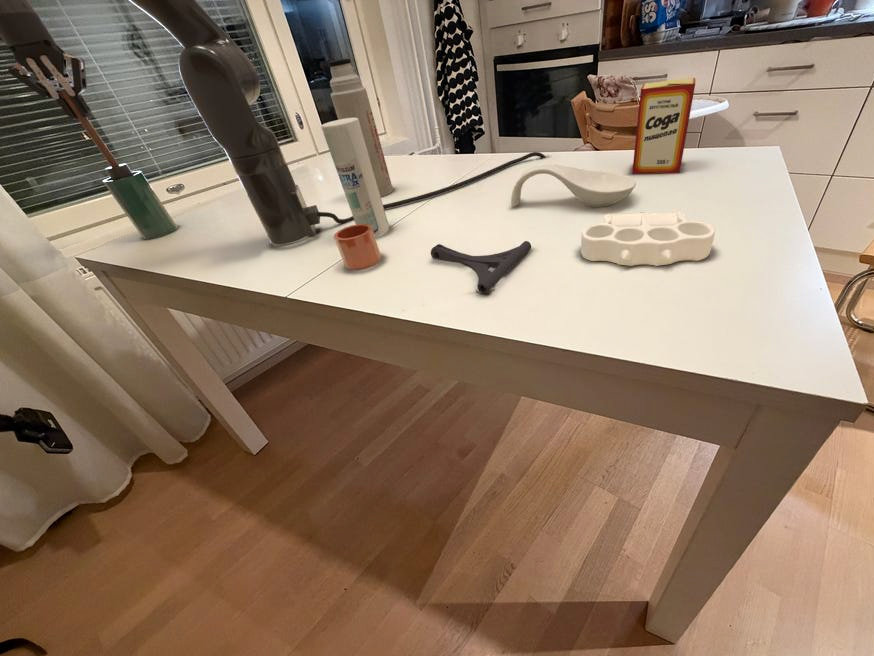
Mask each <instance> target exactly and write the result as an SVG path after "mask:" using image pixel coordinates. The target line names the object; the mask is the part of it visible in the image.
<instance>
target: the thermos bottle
mask: <svg viewBox="0 0 874 656" xmlns="http://www.w3.org/2000/svg"><path fill="white" fill-rule="evenodd" d="M327 66H328V68H330V74H331V79H330V81H329V84H330V85H329V87H330V88H331V90H332V92H331V93H330V98H331V101H332V104H333V107H334V111H335V113H336V117H337V120H340V119H346V118H358V120H359V123H360V126H361V130H362V133H363V137H364V140H365V144H366V147H367V151H368V154H369V158H370V162H371V165H372V169H373V172H374V176H375V179H376V183H377V186H378V190H379V193H380V197H381V198H382V197H384V196H388V195H390V194H391V193H392V192H393V191H394V189H393V184H392V181H391V177H390V173H389V171H388V166H387V162H386V158H385V154H384V151H383V147H382V142H381V140H380V136H379V133H378V129H377V125H376V121H375V118H374V114H373V110H372V106H371V102H370V98H369V96H368V91H367V88H366V87H364V86H363V85H362V80H361V78H360V76H359V75H358V74H356V73H355V71H354V67H353V66H352V61H351V58H340V59H339V58H338V59H335V60H331V61H328V62H327Z"/></svg>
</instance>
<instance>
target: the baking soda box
mask: <svg viewBox="0 0 874 656" xmlns="http://www.w3.org/2000/svg"><path fill="white" fill-rule="evenodd" d="M695 87H696V77H691V78H689V77H688V78H678V79H668V80H665V81H654V82H645V83H643V84H642V86H641V88H640V94H639V103H638V112H637V113H638V114H637V122H636V123H637V124H636V131H635V140H634V141H635V142H634V150H633V161H632V170H631V175H645V174H646V175H647V174H649V175H651V174H680V172H681V168H682V162H683V156H684V152H685V151H684V150H685V145H686V138H687V133H688V128H689V122H690V116H691V112H692V105H693V99H694V94H695V89H696V88H695Z"/></svg>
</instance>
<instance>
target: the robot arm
mask: <svg viewBox="0 0 874 656" xmlns="http://www.w3.org/2000/svg"><path fill="white" fill-rule="evenodd" d="M128 1H129V2H130V3H132V4H133V5H135V6H136V7H137V8H138V9H140V10H141V11H143V12H144V13H146V14H147V15H148V16H149V17H151V18H152V19H153V20H154V21H156V22H157V23H159V24H160V25H161V26H162V27H164V29H165V30H166V31H167V32H168V33H169V34H170V35H171V36H172V37H173V38H174V39H175V40H176V41H177V42H178V43H179V44H180V46H181V47H182V48H183V49H182V50H181V52H180V54H179V57H178V69H179V74H180V79H181V80H182V83H183V85H184V87H185V90H186V92H187V93H188V96H189V97H190V99H191V101H192V103H193V105H194V107H195V108H196V110H197V112H198V114H199V116H200V118H201V119H202V121H203V123H204V125H205V126H206V128H207V130H208V132H209V133H210V135H211V137H212V138H213V139H214V140H215V142H216V143H217V144H218V145H219V146H220V147H221V148H222V149H223V151H224V152H225V155H226V156H227V157H228V160H229V162H230V163H231V166H232V168H233V169H234V172H235V174H236V176H237V178H238V179H239V182H240V184H241V185H242V188H243V189H244V191H245V193H246V196H247V197H248V200H249V202H250V204H251V205H252V207H253V209H254V212H255V213H256V216H257V217H258V219H259V222H260V224H261V225H262V227H263V229H264V231H265V233H266V235H267V237H268V239H269V242H270V244H271V246H273V247H287V246H292V245H296V244H299V243H301V242H304V241H306V240H308V239H311V238H314V237H315V236H316V234H317V226H316V225H319V224H321V218H323V217H324V218H331V219H333V221H334V222H335V223H337V224H340V225H341V224H346V223H350V222H352V221H354V218H353V215H352V216H350V217H347V218H339V217H338V216H337V215H336V214H335V213H332V212H328V211H320V210H319V208H318V206H317V205H316V204H314V205H311V206H307V203H306V200H305V198H304V196H303V194H302V191H301V189H300V187H299V185H298V184H297V183H296V182H295V180H294V177H293V175H292V172H291V171H290V167H289V166H288V164H287V161H286V158H285V156H284V153H283V152H282V151H283V150H282V149H281V147H280V144H279V142H278V140H277V139H278V138H277V137H276V135H275V133H274V131H273V130H272V129H270V128H269V127H266V126H264V125H262V123H260V122H259V120H258V119H257V118H256V115H255V113H254V111H253V110H252V108H251V106H250V105H252V104H253V103H255V102H256V101H257V100H258V99H259V96H260V94H261V82H260V78H259V74H258V73H257V70H256V68H255V66H254V64H253V63H252V62H251V60H250V58H249V57H248V55H246V53H245V52H244V51H243V50H242V49H241V47H240V46H238V44H237V43H236V42H235V41H234V40H233V39H232V38H231V37H230V36H229V35H228V34H227V32H225V31H224V29H222V27H221V26H220V25H219V24H218V23H217V22H216V21H215V19H213V18H212V17H211V16H210V15H209V14H208V12H207V11H206V10H205V9H204V8H203V7H202V5H200V4H199V2H198V1H197V0H128ZM0 38H1V39H2V41H3V42H4V44H5V45H6V46H7V47H8V49H10V51H11V52H12V56H13V59H14V61H15V63H14V65H13V66H12V67H11V68H8V69H7V71H8V73H9V74H10V75H11V76H13V77H14V78H16V80H17V81H20V83H22V84H24V85H25V86H27V87H28V88H29V89H31V90H32V91H34V92H35V93H36V94H37V95H39V96H41V97H43V98H48V99H49V98H50V99H53V100H55V101H56V102H57V104H58V105H59V106H60V108H61V109H62V110H63V112H64V114H65V115H66V116H67V117H70V118H71V119H72V120H78V118H77V117H76V115H75V114H74V112H73V111H72V109H71V108H70V107H69V105H68V104H67V102H66V101H65V99H64V98H63V96H62V95H61V94H60V92H59V91H60V90H62V88H63V90H66V91H67V93H68V94H69V95H70V96H71V97H70V98H71V100H72V101H73V103H74V104H75V106H76V107H77V108H78V110H79V111H80V113H81V114H82V116H83V117H87V118H88V117H92V109H91V107H89V105H88V103H87V102H86V100H85V99H84V97H83V96H82V93H84V92H85V91H87V90H88V82H87V72H86V71H87V70H86V63H85V60H84V59H83V57H80V56H79V57H77V56H73V55H70V54H67V53H66V52H65V51H64V49H62V48H61V47H60V46H59V45H58V44H57V43H56V41H55V39H54V37H53V36H52V34H51V33H50V31H49V30H48V28H47V27H46V25H45V24H44V22H43V21H42V19H41V18H40V16H39V14H38V13H37V11H36V9H35V8H34V7H33V5H32V3H31V2H30V0H0ZM67 64H68V65H67ZM68 66H69V67H70V68H71V71H72V76H71V75H70V74H69V72H68V69H67V67H68ZM31 73H32V74H34V75H35V76H36V77H37V78H38V80H39V81H38V80H37V79H36V78H34V77H32V76H31ZM59 84H60V85H61V86H62V88H61V87H60V86H59ZM532 157H539V158H541V159H546V158H547V156H546V155H545V154H543V153H541V152H539V151H533V152H529V153H527V154H525V155H523V156H521V157H519V158H518V157H517V158H515V159H512V160H509V161H507V162H504V163H503V164H500V165H498V166H495V167H494V168H491V169H489V170H487V171H484V172H482V173H479V174H477V175H475V176H472V177H470V178H467V179H465V180H463V181H460V182H457V183H454V184H451V185H449V186H446V187H442V188H440V189H437V190H434V191H430V192H427V193H424V194H420V195H416V196H412V197H410V198H409V197H408V198H405V199H402V200H397V201H393V202H389V203H386V204H383V207H384V210H386V209H387V210H388V209H391V208H395V207H399V206H403V205H407V204H411V203H415V202H419V201H422V200H425V199H428V198H432V197H436V196H438V195H441V194H444V193H448V192H450V191H452V190H456V189H458V188H461V187H464V186H466V185H468V184H471V183H474V182H476V181H479V180H480V179H483V178H485V177H487V176H490V175H492V174H494V173H497V172H499V171H501V170H503V169H506V168H507V167H510V166H512V165H516V164H518V163H521V162H524V161H525V160H527V159H531V158H532Z"/></svg>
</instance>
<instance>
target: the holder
mask: <svg viewBox="0 0 874 656" xmlns="http://www.w3.org/2000/svg"><path fill="white" fill-rule="evenodd" d="M333 238H334V241H335V244H336V246H337V249H338V252H339V255H340V256H341V260H342V261H343V265H344V267H345V268H346V269H348V270H352V271H358V270H364V269H365V270H366V269H368V268H371V267H373V266H375V265H377V264H378V263H379V262H380V261H381V260H382V254H381V250H380V247H379V244H378V242H377V238H376V236H375V235H374V232H373V229H372V226H371V225H368V224H351V225H349V226H346V227H345V226H344V227H343V228H340V229H339V230H337V231H336V232H335V233H334V234H333Z"/></svg>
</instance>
